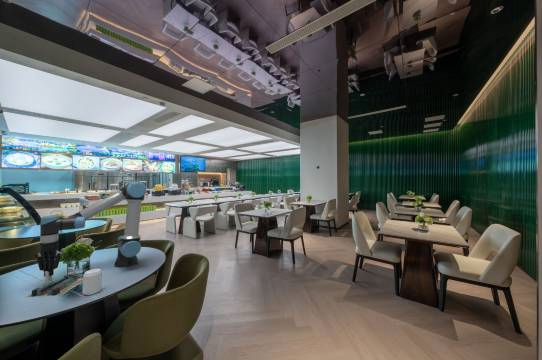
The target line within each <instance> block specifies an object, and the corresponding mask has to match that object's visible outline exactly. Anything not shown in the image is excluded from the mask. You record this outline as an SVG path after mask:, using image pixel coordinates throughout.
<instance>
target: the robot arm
mask: <svg viewBox="0 0 542 360" xmlns="http://www.w3.org/2000/svg"><path fill="white" fill-rule="evenodd" d="M146 193H147V187H146V185H145V184H144V183H142V182H140V181H131V182H129V183H127V184H126V185H124V186H122V187H121V188H119V189H117V191H116V192H115V193H112V194H110V195H108V196H107V197H105V198H103V199H101V200H99V201H97V202H95V203H92V205H89V206H87V207H86V208H83V209H81V210H80V211H78V212H76V213H74V214H71V215H69V216H68V217H60V215H57V214H55V215H54V214H53V215H52V214H51V215H45V216H42V217H41V218H40V229H39V230H40V235H39V237H40V238H39V242H40V243H39V250H40V251H39V252H38V253H37V254H34V257H35V258H36V261H37V265H38V269H39V271H43V277H44V283H48V284H49V283H51V282H53V276H54V273H55V272H54V271H55V270H56V269H58V267H59V266H60V265H59V264H60V261H61V258H62V256H63V254H64V252H63V251H62V252H61V251H59V245H60V244H59V242H60V241H59V237H60V236H59V234H60V232H61V231H69V230H79V229H84V228H86V221H88V220H89V219H91V218H93V217H95V216H97V215H100V214H101V213H103V212H104V211H106V210H108V209H110V208H111V207H113V206H115V205H117V204H119V203H121V202H123V201H126V202H127V205H126V215H125V224H124V235H120V236H118V238H117V257H116V260H115V262H114V265H113V266H114V268H127V267H128V268H129V267H131V266H135V264H137V263H138V264H139V259H138V256H137V255H138V254H139V253H140V251H141V249H142V246H141V245H142V244H141V236H140V234H139V230H140V219H141V211H142V202H143V201H145V194H146ZM59 231H60V232H59ZM138 264H137V265H138Z"/></svg>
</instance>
